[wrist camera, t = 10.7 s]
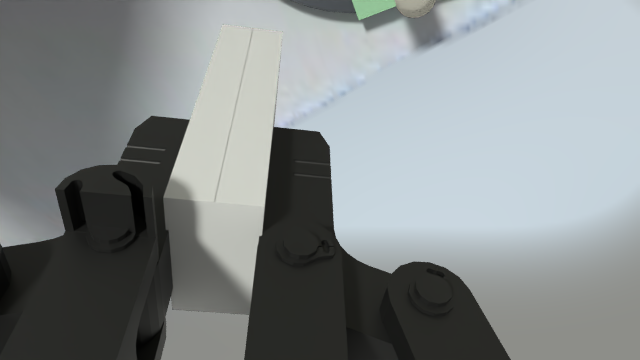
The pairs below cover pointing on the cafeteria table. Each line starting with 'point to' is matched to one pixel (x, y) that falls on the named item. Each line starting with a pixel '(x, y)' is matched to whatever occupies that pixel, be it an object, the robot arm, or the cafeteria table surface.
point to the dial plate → (351, 6)
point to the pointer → (414, 7)
